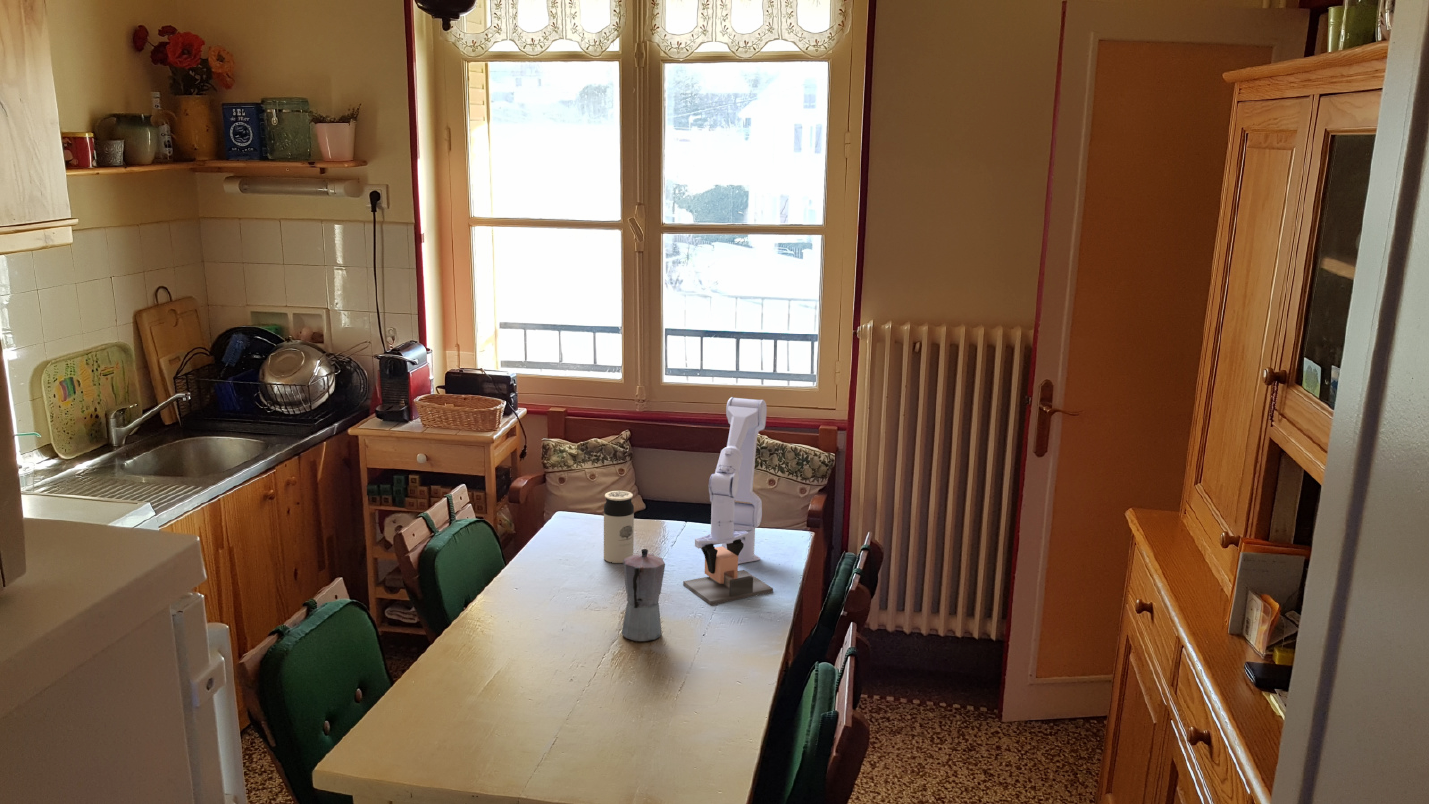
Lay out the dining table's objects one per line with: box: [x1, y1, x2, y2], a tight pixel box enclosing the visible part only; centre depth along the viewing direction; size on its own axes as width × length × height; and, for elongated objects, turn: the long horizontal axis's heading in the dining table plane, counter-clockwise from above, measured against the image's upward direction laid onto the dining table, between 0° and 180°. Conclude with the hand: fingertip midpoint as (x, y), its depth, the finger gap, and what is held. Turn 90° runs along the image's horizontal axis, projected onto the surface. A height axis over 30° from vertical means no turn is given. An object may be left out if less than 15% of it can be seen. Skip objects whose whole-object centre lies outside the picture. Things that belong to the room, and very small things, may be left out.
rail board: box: [682, 569, 774, 606], centre depth 262 cm, size 14×18×5 cm
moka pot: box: [621, 548, 666, 642], centre depth 233 cm, size 10×15×20 cm, turn 174°
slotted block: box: [704, 545, 739, 584], centre depth 265 cm, size 8×5×6 cm, turn 30°
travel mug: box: [603, 490, 635, 564], centre depth 279 cm, size 8×8×18 cm
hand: (721, 570), depth 265 cm, fingers closed on slotted block, 5 cm apart
